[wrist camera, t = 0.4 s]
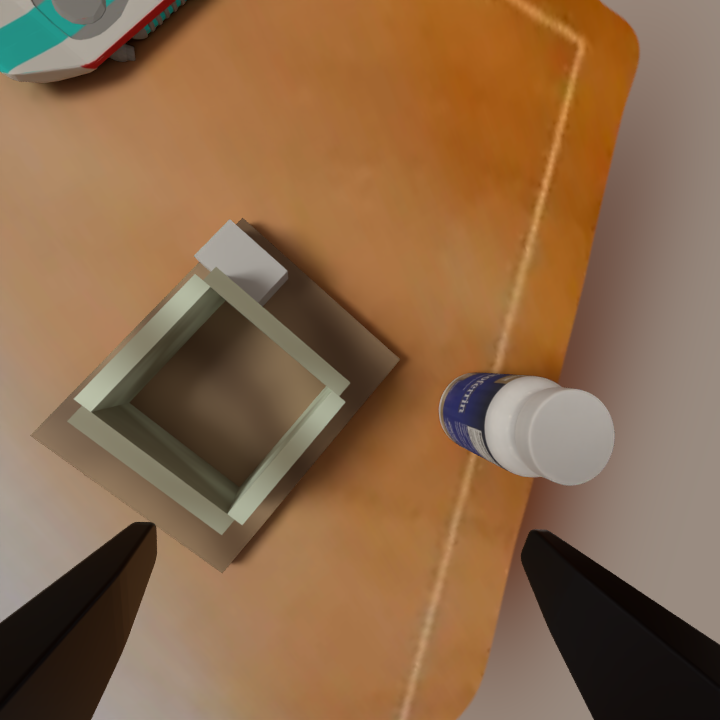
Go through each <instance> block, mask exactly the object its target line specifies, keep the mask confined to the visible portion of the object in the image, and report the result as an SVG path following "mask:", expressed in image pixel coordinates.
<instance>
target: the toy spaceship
mask: <svg viewBox="0 0 720 720" xmlns="http://www.w3.org/2000/svg"><path fill="white" fill-rule="evenodd" d="M185 1H186V0H0V72H2V73H3V74H5V75H6V76H8V77H10V78H11V79H13V80H16V81H20V82H37V83H48V82H55V81H60V80H64V79H68V78H72V77H76V76H80V75H83V74H87V73H90V72H92V71H94V70H96V69H97V67H98V66H99V65H100V64H102V63H103V62H104V61H105V60H106V59H107V58H111V59H113V60H116V61H120V62H125V61H127V60H131V61H135V52H134V47H133V46H130V45H127V44H126V42H127V41H129V40H130V39H131V38H133V39H145V38H147V37H148V34H149V33H150V32H153V31H155V29H156V28H155V27H156V26H157V25H159V26H160V25H161V24H162V23H163V20H164V19H165V18H166V19H168V18H169V17H170V14H171V13H172V12H176V11H177V10H178V7H179V6H180V5H181V6H182V5H183V4H184V3H185Z"/></svg>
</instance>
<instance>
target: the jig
mask: <svg viewBox="0 0 720 720" xmlns="http://www.w3.org/2000/svg"><path fill="white" fill-rule="evenodd" d="M236 225H237V226H238V227H239V228H240V229H241V230H242V231H243V232H245V233H246V234H247V235H248V236H249V237H250V238H251V239H252V240H254V241H255V242H256V243H257V244H258V245H259V246H260V247H261V248H263V249H264V250H265V251H266V252H267V253H268V254H269V255H270V256H271V257H273V258H274V259H275V260H276V261H277V262H278V263H279V264H280V265H282V266H283V267H284V268H285V269H286V270H287V271H288V280H287V281H286V282H285V283H284V284H283V285H282V286H281V287H280V288H279V289H278V290H277V292H276V293H275V294H274V295H273V296H272V297H271V298H270V299H269V300H268V301H267V302H266V304H265V305H264V306H263V307H262V306H261V305H260V304H259V303H258V302H256V301H255V300H254V299H253V298H252V297H251V296H250V295H248V294H247V293H246V292H245V291H244V290H243V289H241V288H240V287H239V286H238V285H237V284H236V283H234V282H233V281H232V280H231V279H230V278H229V277H228V276H226V275H225V274H224V273H223V272H222V271H221V270H219V269H218V268H217V267H215V268H214V269H213V270H212V271H211V272H210V271H209V270H208V269H207V268H205V267H204V266H203V265H202V264H201V263H200V262H199V263H198V264H197V265H196V266H195V267H194V268H193V269H192V270H191V271H190V272H189V273H188V274H187V275H186V276H185V277H184V278H183V279H182V280H181V281H180V282H179V284H178V285H177V286H176V287H175V288H174V289H173V290H172V291H171V292H170V293H169V294H168V295H167V296H166V297H165V298H164V299H163V300H162V301H161V302H160V303H159V304H158V305H157V306H156V307H155V308H154V309H153V310H152V311H151V312H150V313H149V314H148V315H147V316H146V317H145V318H144V319H143V320H142V321H141V322H140V324H139V325H138V326H137V327H136V328H135V329H134V330H133V331H132V332H131V333H130V334H129V335H128V336H127V337H126V338H125V339H124V340H123V341H122V342H121V343H120V344H119V345H118V346H117V347H116V348H115V349H114V350H113V351H112V352H111V353H110V354H109V355H108V356H107V357H106V358H105V359H104V360H103V361H102V363H101V364H100V365H99V366H98V367H97V368H96V369H95V370H94V371H93V372H92V373H91V374H90V375H89V376H88V377H87V378H86V379H85V380H84V381H83V382H82V383H81V384H80V385H79V386H78V387H77V388H76V389H75V390H74V391H73V392H72V393H71V394H70V395H69V396H68V397H67V398H66V399H65V400H64V402H63V403H62V404H61V405H60V406H59V407H58V408H57V409H56V410H55V411H54V412H53V413H52V414H51V415H50V416H49V417H48V418H47V419H46V420H45V421H44V422H43V423H42V424H41V425H40V426H39V427H38V428H37V429H36V430H35V431H34V432H33V433H32V434H31V435H30V436H31V437H33V438H34V439H36V440H37V441H38V442H40V443H41V444H43V445H44V446H45V447H47V448H48V449H50V450H51V451H52V452H54V453H55V454H57V455H58V456H59V457H61V458H62V459H64V460H65V461H66V462H68V463H69V464H71V465H72V466H73V467H75V468H76V469H77V470H79V471H80V472H82V473H83V474H84V475H86V476H87V477H89V478H90V479H91V480H93V481H94V482H96V483H97V484H98V485H100V486H101V487H103V488H104V489H105V490H107V491H108V492H110V493H111V494H112V495H114V496H115V497H117V498H118V499H119V500H121V501H122V502H123V503H125V504H126V505H128V506H129V507H130V508H132V509H133V510H135V511H136V512H137V513H139V514H140V515H142V516H143V517H144V518H146V519H147V520H149V521H150V522H153V523H154V524H155V525H156V526H157V527H158V528H160V529H161V530H163V531H164V532H165V533H167V534H168V535H169V536H171V537H172V538H174V539H175V540H176V541H178V542H179V543H181V544H182V545H183V546H185V547H186V548H188V549H189V550H190V551H192V552H193V553H195V554H196V555H197V556H199V557H200V558H202V559H203V560H204V561H206V562H207V563H209V564H210V565H211V566H213V567H214V568H216V569H217V570H218V571H220V572H221V573H223V572H224V571H225V570H226V568H227V567H228V566H229V565H230V564H231V562H232V561H233V560H234V559H235V558H236V556H237V555H238V554H239V553H240V551H241V550H242V549H243V548H244V547H245V545H246V544H247V543H248V542H249V541H250V539H251V538H252V537H253V536H254V535H255V533H256V532H257V531H258V530H259V529H260V527H261V526H262V525H263V524H264V523H265V521H266V520H267V519H268V518H269V517H270V515H271V514H272V513H273V512H274V511H275V509H276V508H277V507H278V506H279V505H280V503H281V502H282V501H283V500H284V499H285V497H286V496H287V495H288V494H289V493H290V491H291V490H292V489H293V488H294V486H295V485H296V484H297V483H298V482H299V480H300V479H301V478H302V477H303V476H304V474H305V473H306V472H307V471H308V470H309V468H310V467H311V466H312V465H313V464H314V462H315V461H316V460H317V459H318V458H319V456H320V455H321V454H322V453H323V452H324V450H325V449H326V448H327V447H328V446H329V444H330V443H331V442H332V441H333V440H334V438H335V437H336V436H337V435H338V434H339V432H340V431H341V430H342V429H343V428H344V426H345V425H346V424H347V423H348V422H349V420H350V419H351V418H352V417H353V415H354V414H355V413H356V412H357V411H358V409H359V408H360V407H361V406H362V405H363V403H364V402H365V401H366V400H367V399H368V397H369V396H370V395H371V394H372V393H373V391H374V390H375V389H376V388H377V387H378V385H379V384H380V383H381V382H382V381H383V379H384V378H385V377H386V376H387V375H388V373H389V372H390V371H391V370H392V369H393V367H394V366H395V365H396V364H397V363H398V361H399V360H400V359H399V358H398V357H397V356H396V355H395V354H394V353H392V352H391V351H390V350H389V349H388V348H387V347H386V346H385V345H384V344H382V343H381V342H380V341H379V340H378V339H377V338H376V337H375V336H374V335H372V334H371V333H370V332H369V331H368V330H367V329H366V328H365V327H364V326H362V325H361V324H360V323H359V322H358V321H357V320H356V319H355V318H353V317H352V316H351V315H350V314H349V313H348V312H347V311H346V310H345V309H343V308H342V307H341V306H340V305H339V304H338V303H337V302H336V301H335V300H333V299H332V298H331V297H330V296H329V295H328V294H327V293H326V292H325V291H323V290H322V289H321V288H320V287H319V286H318V285H317V284H316V283H315V282H313V281H312V280H311V279H310V278H309V277H308V276H307V275H306V274H305V273H303V272H302V271H301V270H300V269H299V268H298V267H297V266H296V265H295V264H293V263H292V262H291V261H290V260H289V259H288V258H287V257H286V256H285V255H283V254H282V253H281V252H280V251H279V250H278V249H277V248H276V247H275V246H273V245H272V244H271V243H270V242H269V241H268V240H267V239H266V238H265V237H263V236H262V235H261V234H260V233H259V232H258V231H257V230H256V229H255V228H253V227H252V226H251V225H250V224H249V223H248V222H247V221H246V220H245V219H243V218H242V219H241V220H240V221H239V222H238V223H237V224H236Z"/></svg>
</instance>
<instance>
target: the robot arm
mask: <svg viewBox="0 0 720 720" xmlns="http://www.w3.org/2000/svg"><path fill="white" fill-rule="evenodd" d="M156 556H157V533H156V525H155V524H154V523H153V522H135V523H132V524H131V525H129V526H128V527H127V528H125V529H124V530H123V531H121V532H120V533H119V534H117V535H116V536H115V537H113V538H112V539H111V540H109V541H108V542H107V543H105V544H104V545H103V546H101V547H100V548H99V549H97V550H96V551H95V552H93V553H92V554H91V555H89V556H88V557H87V558H85V559H84V560H83V561H81V562H80V563H79V564H78V565H76V566H75V567H74V568H72V569H71V570H70V571H68V572H67V573H66V574H64V575H63V576H62V577H60V578H59V579H58V580H56V581H55V582H54V583H52V584H51V585H50V586H48V587H47V588H46V589H44V590H43V591H42V592H40V593H39V594H38V595H36V596H35V597H34V598H32V599H31V600H30V601H28V602H27V603H26V604H24V605H23V606H22V607H21V608H19V609H18V610H17V611H15V612H14V613H13V614H11V615H10V616H9V617H7V618H6V619H5V620H3V621H2V622H1V623H0V720H91V719H92V717H93V714H94V712H95V710H96V708H97V706H98V704H99V702H100V699H101V697H102V695H103V693H104V691H105V689H106V687H107V684H108V682H109V680H110V678H111V676H112V674H113V672H114V669H115V667H116V665H117V663H118V661H119V658H120V656H121V654H122V652H123V649H124V647H125V645H126V642H127V639H128V637H129V634H130V631H131V628H132V626H133V623H134V620H135V617H136V615H137V612H138V609H139V606H140V603H141V601H142V598H143V595H144V592H145V589H146V587H147V584H148V581H149V578H150V575H151V573H152V570H153V567H154V564H155V561H156ZM521 561H522V565H523V567H524V570H525V572H526V575H527V577H528V580H529V582H530V585H531V587H532V589H533V592H534V594H535V597H536V599H537V602H538V604H539V607H540V609H541V611H542V614H543V617H544V618H545V621H546V623H547V626H548V628H549V630H550V633H551V635H552V637H553V639H554V641H555V643H556V645H557V647H558V649H559V651H560V653H561V655H562V657H563V659H564V661H565V663H566V665H567V667H568V669H569V671H570V673H571V675H572V677H573V679H574V681H575V683H576V685H577V687H578V689H579V691H580V693H581V695H582V697H583V699H584V701H585V703H586V705H587V707H588V709H589V711H590V713H591V715H592V717H593V719H594V720H720V645H719V644H718V643H716V642H715V641H713V640H712V639H710V638H709V637H707V636H706V635H704V634H703V633H701V632H700V631H698V630H697V629H695V628H694V627H692V626H691V625H689V624H688V623H686V622H685V621H683V620H682V619H680V618H679V617H677V616H676V615H674V614H673V613H671V612H670V611H668V610H667V609H665V608H664V607H662V606H661V605H659V604H658V603H656V602H655V601H653V600H651V599H650V598H649V597H647V596H646V595H644V594H643V593H641V592H640V591H638V590H637V589H635V588H634V587H632V586H631V585H629V584H628V583H626V582H625V581H623V580H622V579H620V578H619V577H617V576H616V575H614V574H613V573H611V572H610V571H608V570H607V569H605V568H604V567H602V566H601V565H599V564H598V563H596V562H595V561H593V560H592V559H590V558H589V557H587V556H586V555H584V554H583V553H581V552H580V551H578V550H577V549H575V548H574V547H572V546H571V545H569V544H568V543H566V542H565V541H563V540H562V539H560V538H559V537H557V536H556V535H554V534H553V533H551V532H549V531H548V530H538V529H534V530H531V531H530V532H529V534H528V537H527V539H526V542H525V545H524V547H523V549H522V553H521Z"/></svg>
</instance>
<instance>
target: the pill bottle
mask: <svg viewBox="0 0 720 720" xmlns="http://www.w3.org/2000/svg"><path fill="white" fill-rule="evenodd" d="M439 418H440V422H441V425H442V428H443V430H444V431H445V433H446V434H447V436H448V437H449V438H450V439H451V440H452V441H453V442H455V443H456V444H458V445H459V446H461V447H463V448H465V449H467V450H469V451H471V452H473V453H475V454H476V455H478V456H480V457H482V458H484V459H486V460H488V461H490V462H492V463H494V464H496V465H498V466H499V467H501V468H503V469H505V470H507V471H509V472H511V473H514V474H517V475H520V476H524V477H540V476H541V477H544V478H546V479H549V480H551V481H553V482H556V483H558V484H562V485H578V484H583V483H585V482H587V481H589V480H591V479H593V478H594V477H596V476H597V475H598V474H599V473H600V472H601V471H602V470H603V469H604V467H605V466H606V464H607V463H608V461H609V459H610V456H611V454H612V451H613V447H614V437H615V431H614V425H613V422H612V418H611V416H610V413H609V411H608V410H607V408H606V407H605V405H604V404H603V403H602V402H601V401H600V400H599V399H598V398H597V397H595V396H594V395H592V394H590V393H589V392H586V391H583V390H579V389H572V388H565V387H561V386H560V385H558V384H557V383H555V382H553V381H551V380H549V379H546V378H542V377H537V376H527V375H510V374H493V373H468V374H464V375H462V376H459V377H458V378H456V379H455V380H453V381H452V382H451V383H450V384H449V385H448V386H447V388H446V389H445V391H444V393H443V394H442V397H441V400H440V404H439Z"/></svg>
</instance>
